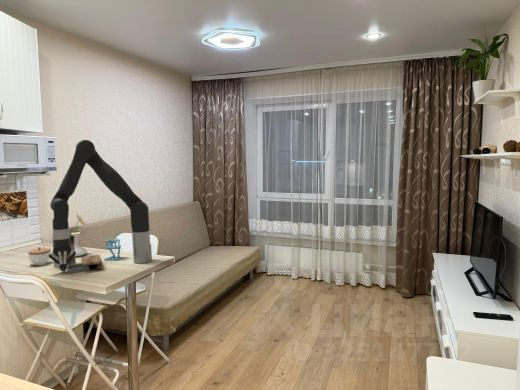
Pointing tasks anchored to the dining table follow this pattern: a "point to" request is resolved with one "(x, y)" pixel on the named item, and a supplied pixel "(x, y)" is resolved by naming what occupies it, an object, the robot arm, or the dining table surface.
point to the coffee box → (68, 255)
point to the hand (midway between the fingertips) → (63, 270)
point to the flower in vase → (78, 248)
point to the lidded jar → (39, 256)
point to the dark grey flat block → (77, 268)
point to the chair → (113, 248)
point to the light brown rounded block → (92, 261)
